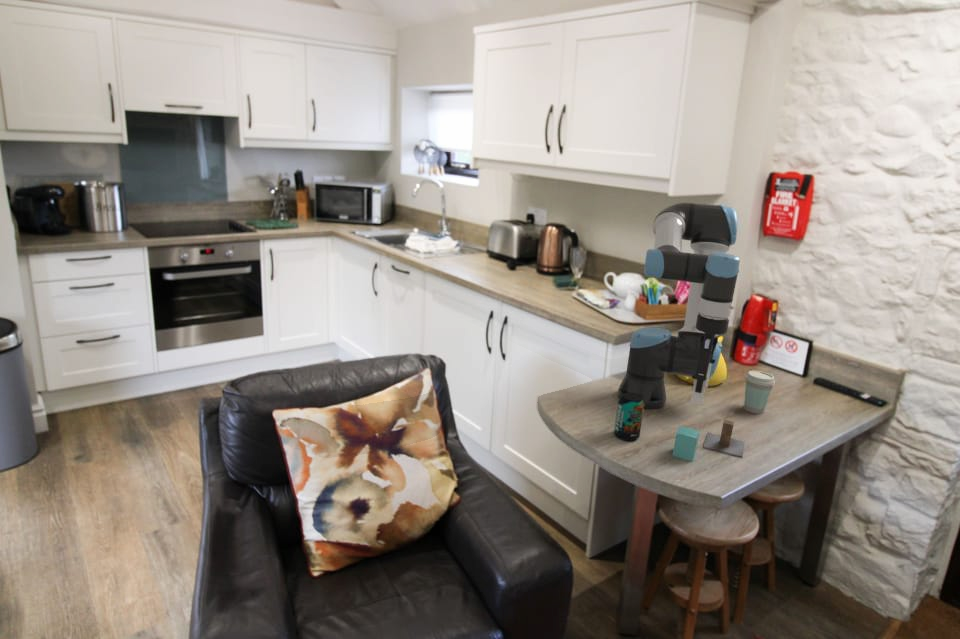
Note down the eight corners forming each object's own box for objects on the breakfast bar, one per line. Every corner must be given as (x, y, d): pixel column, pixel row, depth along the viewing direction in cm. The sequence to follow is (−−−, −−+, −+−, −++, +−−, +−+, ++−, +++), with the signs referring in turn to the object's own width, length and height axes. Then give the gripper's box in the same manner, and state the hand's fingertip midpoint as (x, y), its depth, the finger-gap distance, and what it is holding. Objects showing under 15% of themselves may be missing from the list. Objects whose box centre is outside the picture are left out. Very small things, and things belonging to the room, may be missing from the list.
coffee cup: (771, 417, 194) (779, 381, 191) (742, 413, 195) (749, 377, 192) (764, 406, 202) (772, 371, 199) (737, 402, 204) (744, 368, 200)
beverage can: (639, 443, 171) (646, 403, 167) (613, 440, 172) (619, 399, 168) (638, 432, 177) (644, 393, 174) (613, 428, 178) (618, 390, 175)
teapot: (694, 363, 238) (700, 329, 234) (739, 378, 226) (746, 342, 222) (659, 377, 221) (665, 340, 218) (706, 393, 209) (713, 355, 205)
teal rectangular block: (672, 455, 165) (676, 433, 163) (675, 447, 170) (679, 425, 168) (692, 461, 163) (697, 438, 161) (695, 453, 168) (699, 430, 166)
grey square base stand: (703, 447, 171) (707, 424, 169) (707, 433, 180) (711, 411, 178) (742, 457, 167) (747, 434, 165) (744, 442, 176) (749, 420, 174)
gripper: (725, 330, 144) (709, 415, 150) (732, 308, 166) (718, 382, 172) (691, 324, 147) (677, 407, 153) (703, 303, 169) (690, 376, 175)
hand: (699, 394), depth 162 cm, fingers open, 13 cm apart
